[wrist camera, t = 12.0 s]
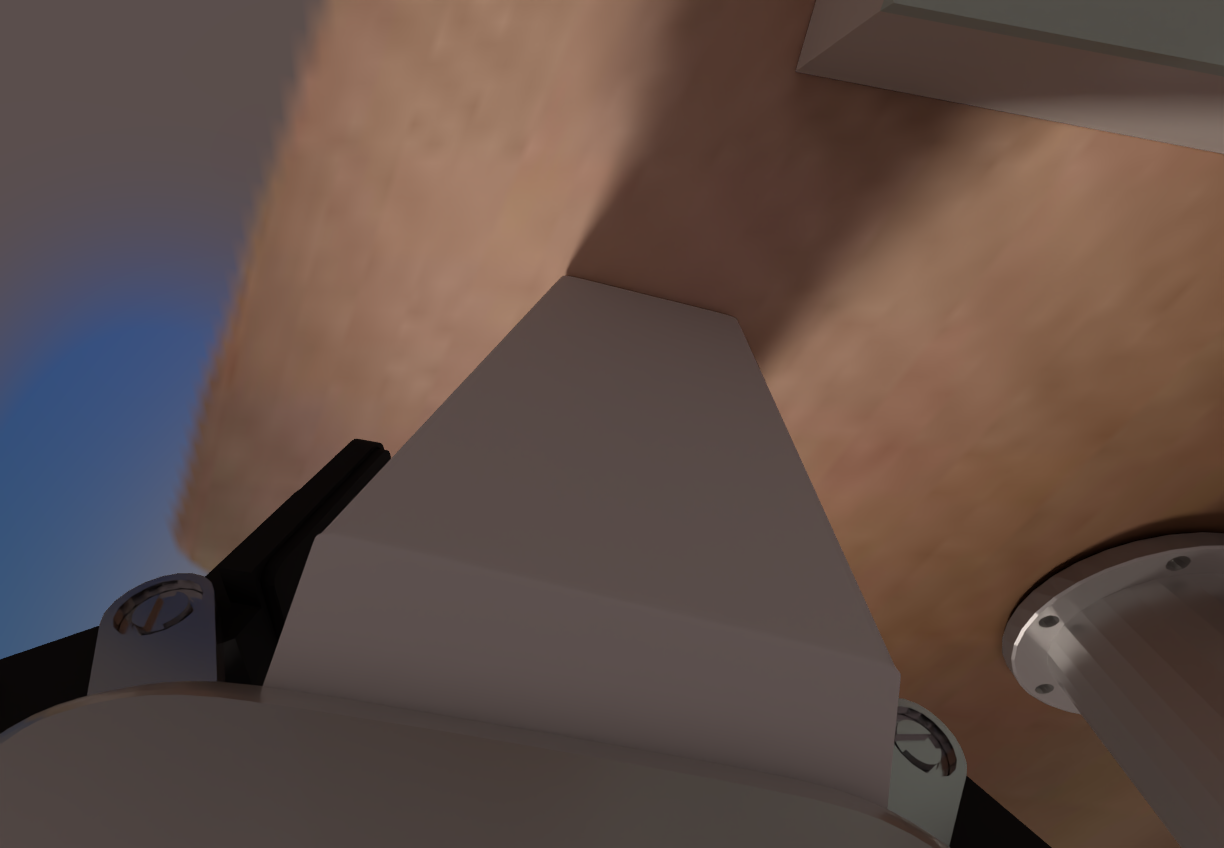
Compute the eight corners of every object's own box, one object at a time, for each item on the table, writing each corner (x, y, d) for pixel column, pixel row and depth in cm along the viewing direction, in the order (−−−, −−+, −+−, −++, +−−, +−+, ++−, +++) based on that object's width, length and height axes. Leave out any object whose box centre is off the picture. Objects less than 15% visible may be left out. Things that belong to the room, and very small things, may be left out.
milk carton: (562, 272, 19) (-308, 1180, 2) (737, 315, 19) (1301, 1520, 2) (538, 425, 22) (149, 1214, 5) (685, 460, 22) (741, 1339, 6)
